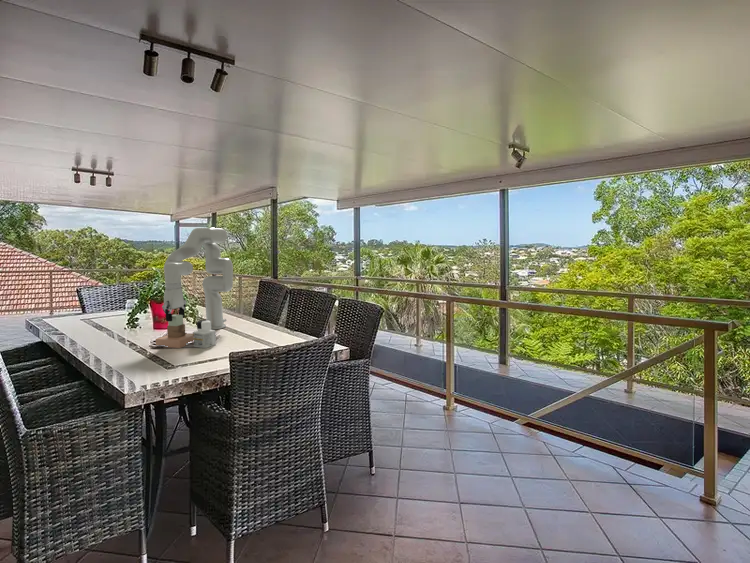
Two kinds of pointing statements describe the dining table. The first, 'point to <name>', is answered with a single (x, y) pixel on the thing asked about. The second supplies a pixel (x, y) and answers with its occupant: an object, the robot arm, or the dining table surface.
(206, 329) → the container
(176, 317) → the sage block
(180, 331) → the walnut block
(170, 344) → the plinth
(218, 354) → the dining table surface
